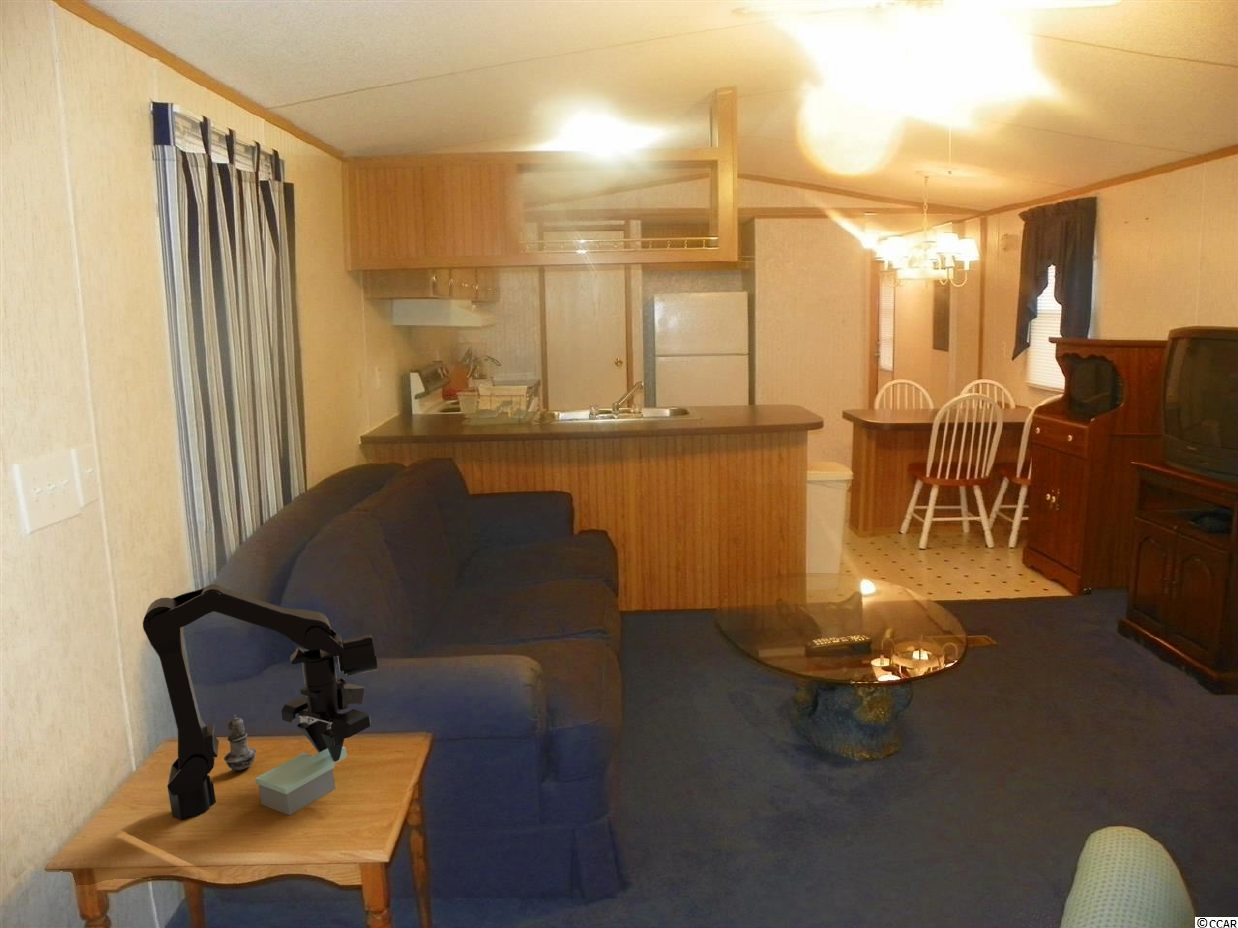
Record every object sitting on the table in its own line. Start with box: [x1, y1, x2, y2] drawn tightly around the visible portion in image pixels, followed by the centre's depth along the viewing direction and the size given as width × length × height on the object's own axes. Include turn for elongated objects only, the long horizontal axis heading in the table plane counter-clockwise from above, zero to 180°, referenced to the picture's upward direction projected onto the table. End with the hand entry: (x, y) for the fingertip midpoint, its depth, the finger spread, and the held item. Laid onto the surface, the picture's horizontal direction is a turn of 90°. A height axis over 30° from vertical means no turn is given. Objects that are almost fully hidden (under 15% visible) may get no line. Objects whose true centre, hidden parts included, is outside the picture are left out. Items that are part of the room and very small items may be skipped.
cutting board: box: [254, 746, 348, 794], centre depth 167 cm, size 16×9×2 cm, turn 147°
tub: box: [258, 768, 336, 816], centre depth 166 cm, size 10×8×5 cm
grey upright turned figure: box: [223, 714, 257, 776], centre depth 178 cm, size 6×6×12 cm
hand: (330, 758), depth 172 cm, fingers closed on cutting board, 3 cm apart
